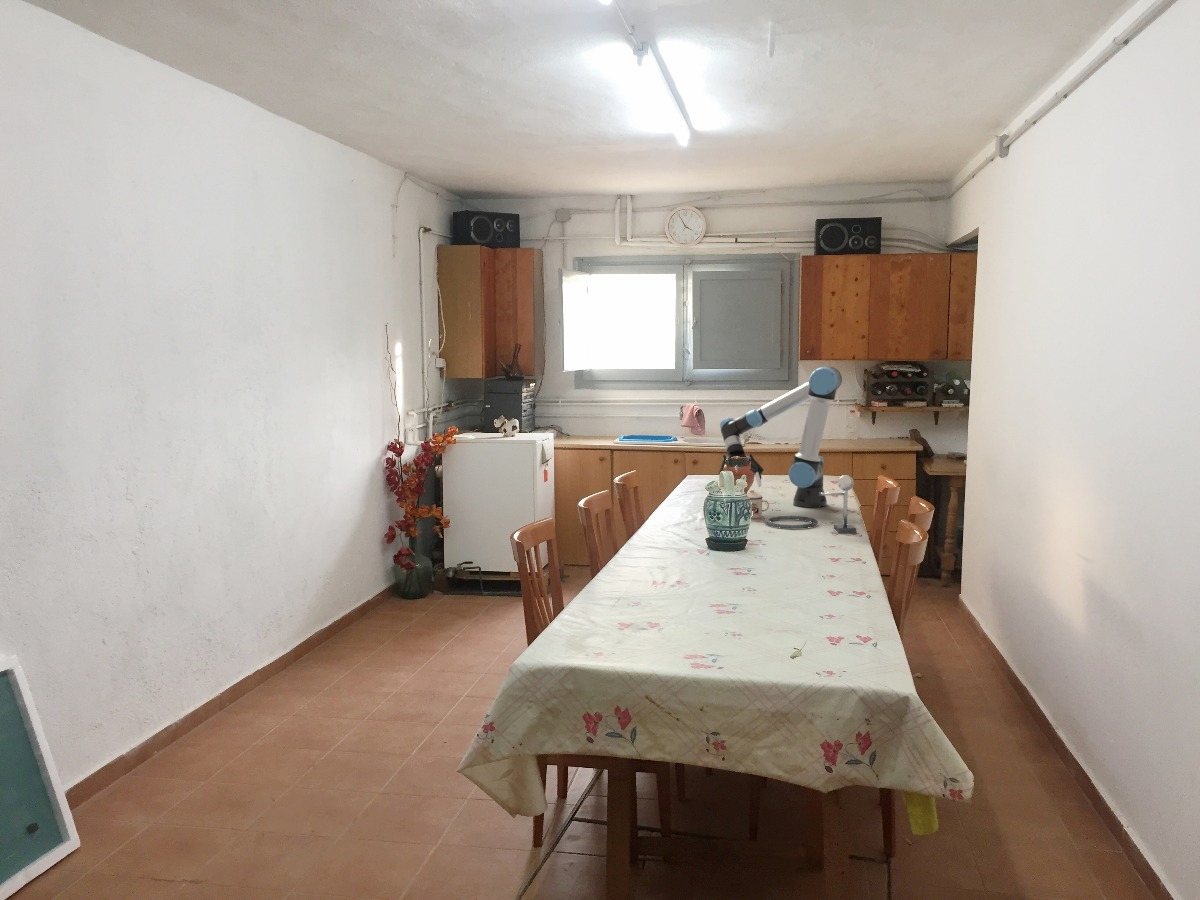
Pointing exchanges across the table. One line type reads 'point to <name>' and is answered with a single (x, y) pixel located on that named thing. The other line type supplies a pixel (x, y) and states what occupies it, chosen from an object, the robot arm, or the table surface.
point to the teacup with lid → (757, 503)
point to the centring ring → (767, 522)
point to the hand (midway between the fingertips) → (745, 486)
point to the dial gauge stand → (845, 484)
